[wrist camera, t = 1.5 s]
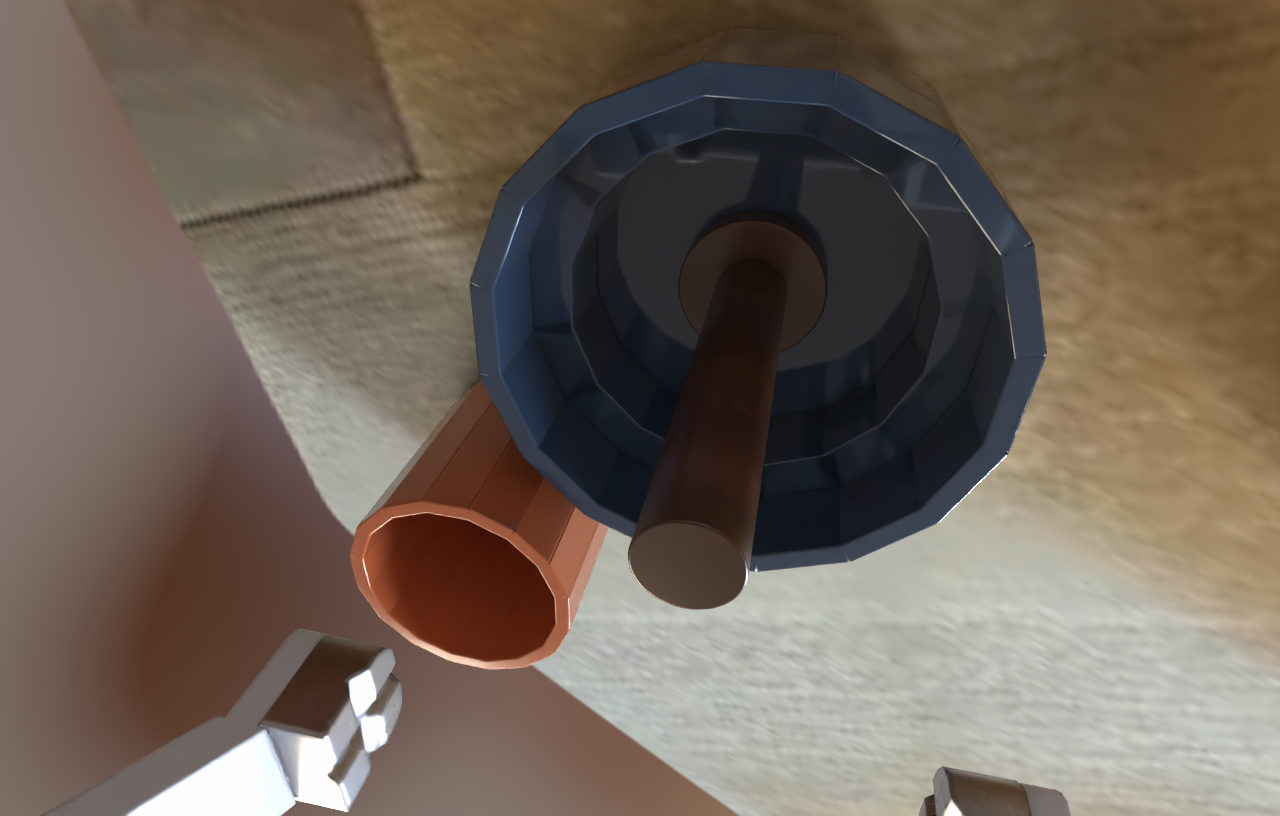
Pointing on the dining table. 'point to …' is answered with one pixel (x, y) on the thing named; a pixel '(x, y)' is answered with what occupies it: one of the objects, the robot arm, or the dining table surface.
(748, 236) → the plunger
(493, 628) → the crock
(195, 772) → the robot arm
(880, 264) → the bowl
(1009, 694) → the dining table surface
